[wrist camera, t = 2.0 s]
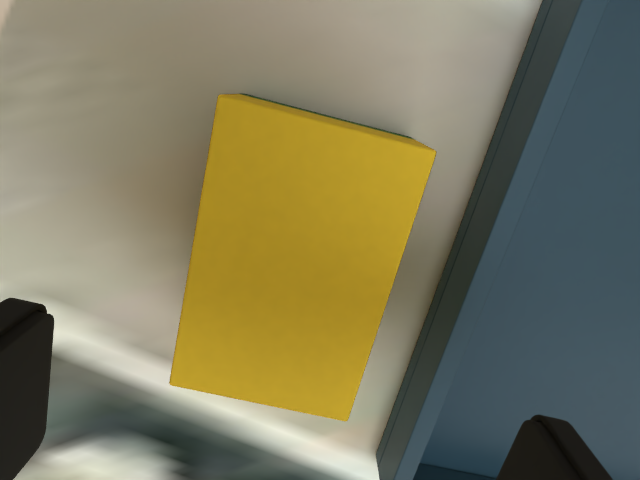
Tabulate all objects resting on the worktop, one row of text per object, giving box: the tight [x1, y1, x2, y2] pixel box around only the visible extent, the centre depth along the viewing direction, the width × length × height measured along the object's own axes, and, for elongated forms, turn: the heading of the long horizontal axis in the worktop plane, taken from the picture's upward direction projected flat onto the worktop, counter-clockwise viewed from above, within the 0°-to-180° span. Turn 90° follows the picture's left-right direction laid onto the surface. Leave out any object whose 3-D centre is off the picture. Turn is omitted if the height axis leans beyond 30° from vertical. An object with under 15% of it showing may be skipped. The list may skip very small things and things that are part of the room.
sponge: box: [169, 94, 436, 421], centre depth 16 cm, size 10×6×4 cm, turn 166°
